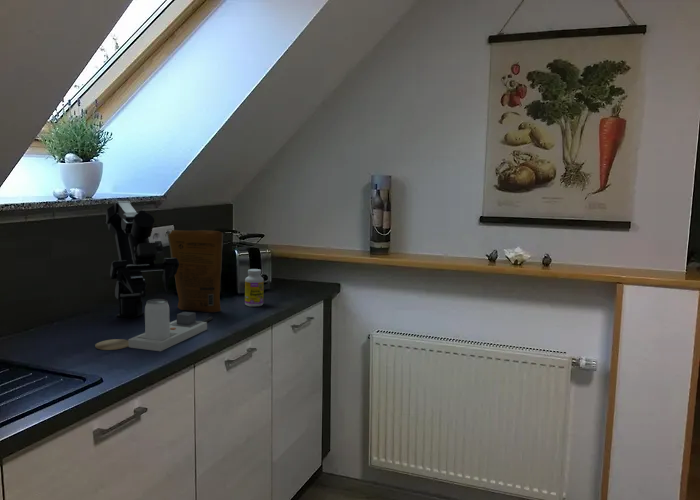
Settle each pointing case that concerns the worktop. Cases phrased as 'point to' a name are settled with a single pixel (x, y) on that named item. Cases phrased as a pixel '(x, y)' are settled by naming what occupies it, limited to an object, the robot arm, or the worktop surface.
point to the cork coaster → (112, 344)
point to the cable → (208, 319)
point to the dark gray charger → (186, 318)
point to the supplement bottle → (254, 288)
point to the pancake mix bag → (197, 268)
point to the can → (157, 320)
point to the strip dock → (176, 335)
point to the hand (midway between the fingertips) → (150, 291)
